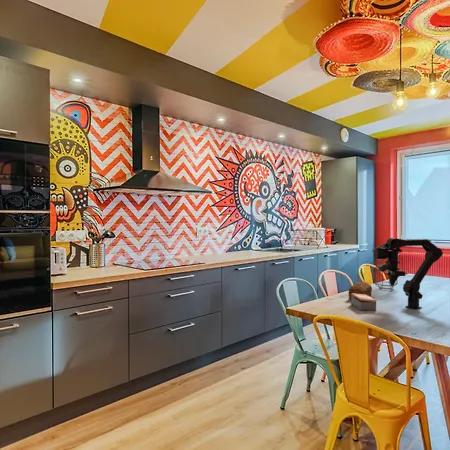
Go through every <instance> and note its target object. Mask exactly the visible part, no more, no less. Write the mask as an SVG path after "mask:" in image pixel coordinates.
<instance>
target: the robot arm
mask: <svg viewBox="0 0 450 450" xmlns="http://www.w3.org/2000/svg"><path fill="white" fill-rule="evenodd" d="M385 243H386V244H385V245H384V246H383V248H382V247H381V248H378V246H376V247H375V248H376V249H375V251H374V252H373V258H374V259H375V260H376V259H377V260H379V259H385V261H386V262H385V263H384V262H383V264H382V263H380V264H377V265H376V268H377V272H379V271H380V273H382V272H383V273H384V274H385V275H386V276H387V277H388V282H389V281H390V285H391V286H393V285H394V283H395V284H396V283H397V281H398V279H399V277H406V275H407V274H406V271H404V270H402V269H400V268H399V264H401V263H400V261H399V253H403V250H402V249H401V248H403V247H419V246H420V247H422V248H423V250H424V251H425V253H424V260H423V262H422V263H421V264H420V265H419V267H418V269H417V271H416V272H415V273H414V275H413V277H412V278H411V279H409V280H408V279H406V281H405V282H404V284H402V286H403V287H402V291H403V292H404V294H405V296H406V297H407V305H405V308H409V309H412V310H419V309H422V308H423V307H422V306H420V300H421V299H423V294H422V293H421V292H420V289H421V284H422V281H423V279H424V278H425V276H426V275H427V273H428V272H429V270H430V269H431V267H432V266H433V264H434V263H436V262H438V261H439V260H440V258H441V257H442V256H443V255H444V252H443V249H441V248H439V247H438V246H437V245H436V244H434V243H432V242H431V240H429V239H427V238H419V239H418V238H417V239H416V238H415V239H411V238H410V239H401V238H394V237H389V238H388V239H387V240H386V242H385ZM395 248H397V249H395ZM386 258H387V259H388V260H387V259H386ZM396 280H397V281H396Z"/></svg>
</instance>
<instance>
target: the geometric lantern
mask: <svg viewBox="0 0 450 450" xmlns="http://www.w3.org/2000/svg"><path fill="white" fill-rule="evenodd" d="M386 243H387V242H383V243H382V244H380V245H379V246H377V247H378V248H383V246H384V245H385V244H386ZM394 249H397V248H394ZM375 250H376V247H375V248H374V249H372V250H371V252H372V253H374V251H375ZM386 260H388V258H386V259H375V265H378V262H379V263H381V264H384V262H385V263H386ZM380 276H381V277H380ZM380 280H381V281H380ZM385 283H388V284H384V272H381V271H378V281H377V267H375V273H374V285H376V286H377V287H378V291H386V292H388V290H390V292H393V291H394V289H395V288H394V287H396V286H397V285H398V279H397V280H396V282H395V283H394V285H393V286H391V284H390V281H389V280H388V281H385Z"/></svg>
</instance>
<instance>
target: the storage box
mask: <svg viewBox="0 0 450 450" xmlns="http://www.w3.org/2000/svg"><path fill="white" fill-rule="evenodd" d="M350 301H351V302H350V305H351V306H352V307H354V308H355V309H357V310H359V311H360V312H376V311H377V301H376V302H371V301H362V300H359V299H358V298H356V297H351V300H350Z"/></svg>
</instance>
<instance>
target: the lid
mask: <svg viewBox="0 0 450 450" xmlns="http://www.w3.org/2000/svg"><path fill="white" fill-rule="evenodd" d="M351 295H353V296H354V297H356V298H358V299H359V300H362V301H371V302H376V303H377V299H375V298H373V297H372V296H371V297H369V296H367V295H364V294H355V293H352V294H351Z"/></svg>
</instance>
